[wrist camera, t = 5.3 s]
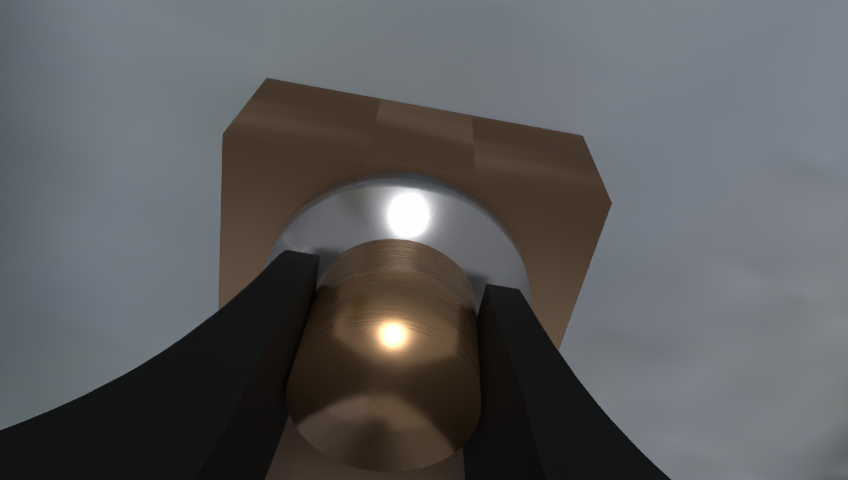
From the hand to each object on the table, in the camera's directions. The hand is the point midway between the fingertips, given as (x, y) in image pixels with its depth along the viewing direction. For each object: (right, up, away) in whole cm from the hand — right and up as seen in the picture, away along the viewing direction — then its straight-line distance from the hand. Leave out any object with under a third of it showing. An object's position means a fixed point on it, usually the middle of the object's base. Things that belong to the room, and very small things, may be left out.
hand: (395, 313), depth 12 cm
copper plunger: (0, +2, +4) cm, 4 cm away
